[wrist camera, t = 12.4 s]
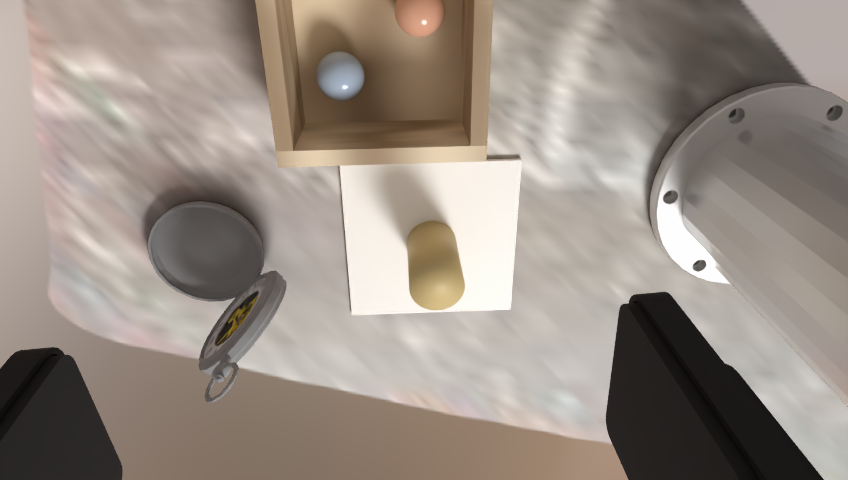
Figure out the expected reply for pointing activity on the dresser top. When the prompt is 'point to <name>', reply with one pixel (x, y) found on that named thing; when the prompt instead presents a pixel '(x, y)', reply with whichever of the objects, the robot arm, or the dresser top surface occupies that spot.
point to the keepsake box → (377, 83)
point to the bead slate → (340, 76)
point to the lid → (431, 235)
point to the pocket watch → (218, 278)
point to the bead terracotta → (419, 16)
